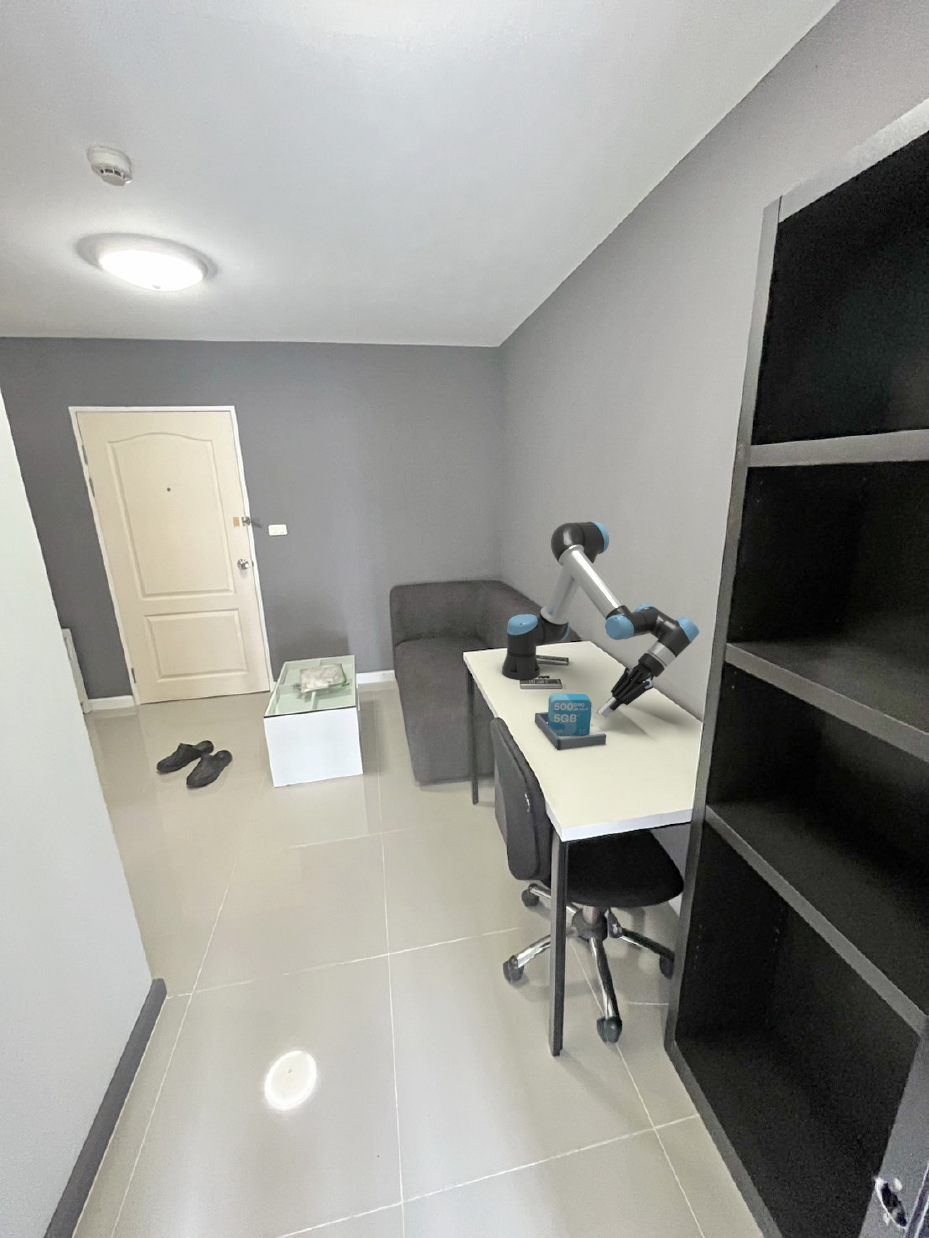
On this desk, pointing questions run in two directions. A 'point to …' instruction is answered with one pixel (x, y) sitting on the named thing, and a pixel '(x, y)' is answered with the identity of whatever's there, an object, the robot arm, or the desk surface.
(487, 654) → the desk surface
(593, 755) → the desk surface
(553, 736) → the dock bay
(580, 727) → the data package
